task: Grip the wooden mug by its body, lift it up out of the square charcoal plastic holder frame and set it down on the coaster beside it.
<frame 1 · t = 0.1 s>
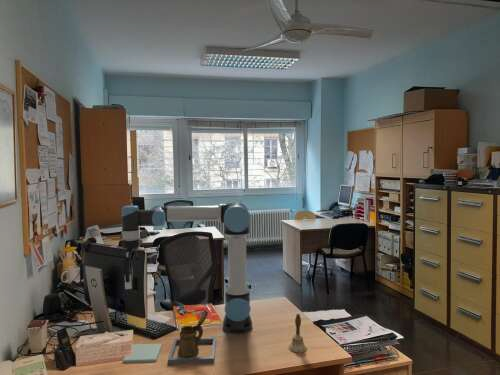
hand: (132, 284, 182), 28 cm above the table, tool pointing down, fingers open, 13 cm apart
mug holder: (193, 352, 174), on the table
coaster: (143, 353, 173), on the table
wooden mug: (193, 352, 174), resting in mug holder
hand bell: (297, 348, 177), on the table
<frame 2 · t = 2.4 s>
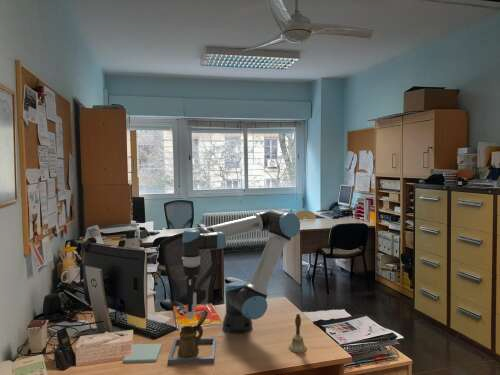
hand: (191, 312, 172), 18 cm above the table, tool pointing down, fingers open, 13 cm apart
nothing on the table moved.
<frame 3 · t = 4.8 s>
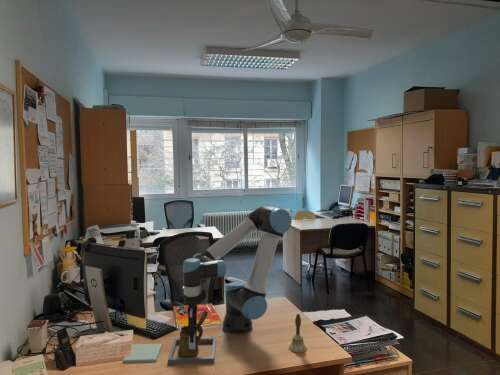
hand: (193, 344, 173), 4 cm above the table, tool pointing down, fingers closed on wooden mug, 7 cm apart
wooden mug: (193, 352, 174), resting in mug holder, touching gripper
everything else where it was.
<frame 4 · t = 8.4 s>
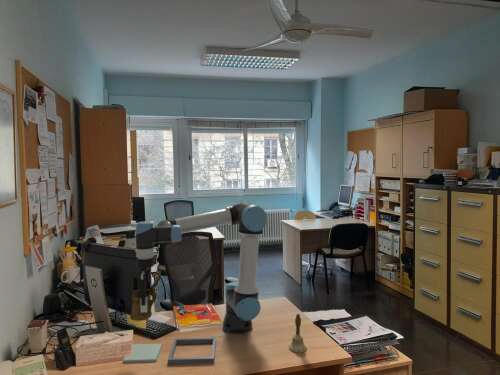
hand: (145, 308, 171), 21 cm above the table, tool pointing down, fingers closed on wooden mug, 7 cm apart
wooden mug: (146, 316, 172), point 17 cm above the table, touching gripper
everything else where it was.
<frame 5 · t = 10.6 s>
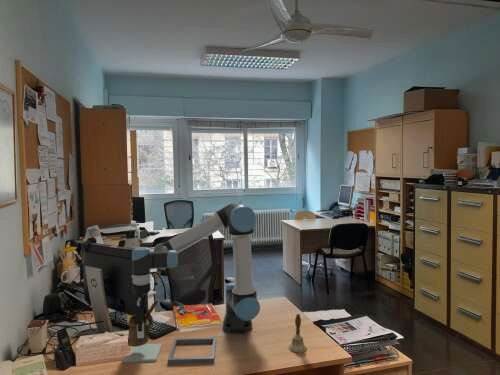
hand: (142, 333, 172), 9 cm above the table, tool pointing down, fingers closed on wooden mug, 7 cm apart
wooden mug: (142, 341, 173), point 5 cm above the table, touching gripper
everything else where it was.
when the fingers open (5 cm above the table, at t = 12.2 s): wooden mug stays where it is, resting on coaster.
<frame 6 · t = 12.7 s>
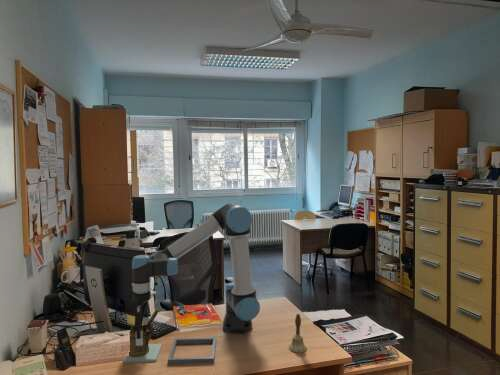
hand: (143, 338, 172), 7 cm above the table, tool pointing down, fingers open, 13 cm apart
wooden mug: (143, 351, 173), point 1 cm above the table, touching coaster
everything else where it was.
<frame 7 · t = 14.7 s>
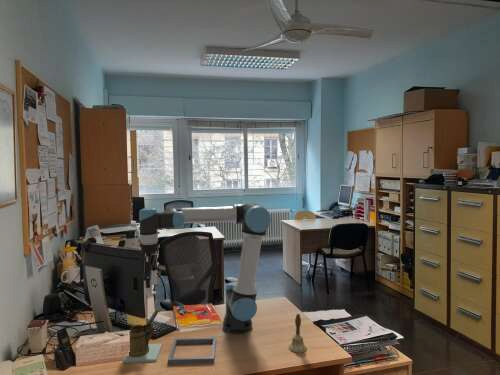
hand: (151, 289, 176), 27 cm above the table, tool pointing down, fingers open, 13 cm apart
nothing on the table moved.
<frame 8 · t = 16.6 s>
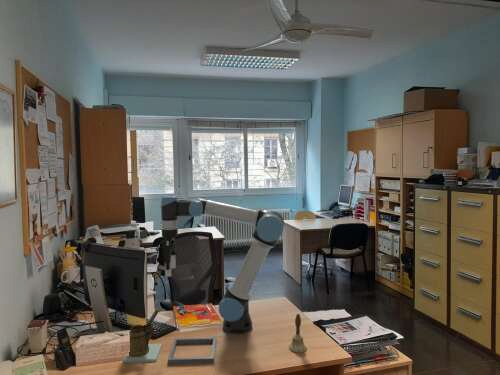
hand: (170, 272, 188), 32 cm above the table, tool pointing down, fingers open, 13 cm apart
nothing on the table moved.
at the end: wooden mug inside the target area on the coaster (0.2 cm from its centre), point 0.8 cm above the coaster's base; wooden mug tilted 0°; the gripper is holding nothing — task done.
